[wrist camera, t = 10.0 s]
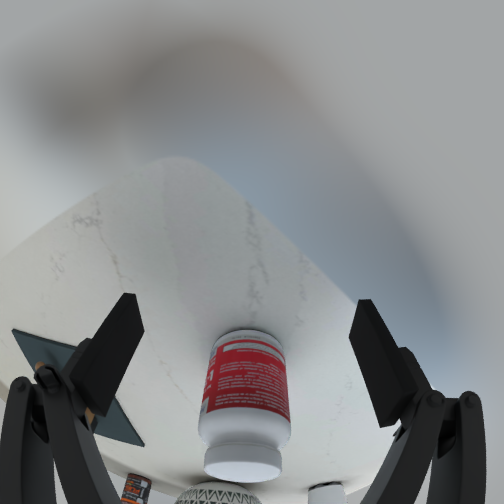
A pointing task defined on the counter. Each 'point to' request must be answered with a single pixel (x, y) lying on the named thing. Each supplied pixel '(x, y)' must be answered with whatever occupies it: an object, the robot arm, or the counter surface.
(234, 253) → the counter surface
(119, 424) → the mat
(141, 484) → the supplement bottle
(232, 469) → the pill bottle
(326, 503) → the cup
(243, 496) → the planter
